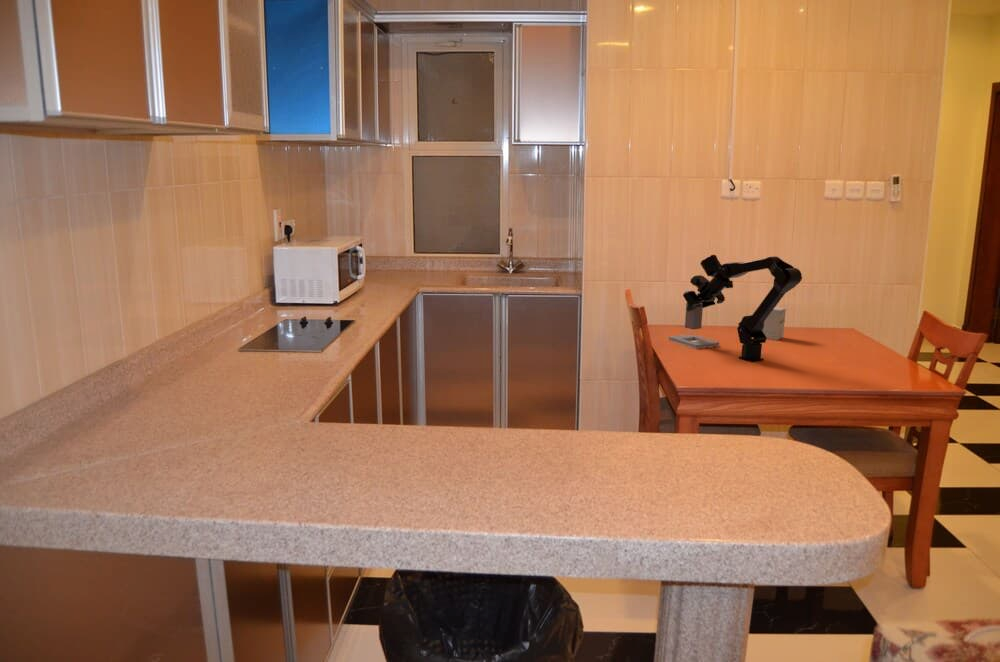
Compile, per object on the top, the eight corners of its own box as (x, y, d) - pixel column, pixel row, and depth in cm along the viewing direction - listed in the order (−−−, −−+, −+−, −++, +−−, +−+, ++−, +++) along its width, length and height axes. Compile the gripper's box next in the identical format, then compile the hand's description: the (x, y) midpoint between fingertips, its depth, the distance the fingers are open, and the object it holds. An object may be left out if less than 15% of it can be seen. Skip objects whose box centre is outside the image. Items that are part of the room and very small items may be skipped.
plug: (701, 328, 310) (703, 299, 307) (693, 329, 307) (695, 300, 305) (692, 326, 313) (694, 298, 311) (684, 327, 311) (686, 299, 308)
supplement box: (777, 340, 320) (780, 310, 318) (759, 337, 325) (762, 308, 322) (783, 337, 326) (786, 307, 323) (766, 335, 331) (768, 305, 328)
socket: (718, 346, 308) (719, 342, 308) (695, 348, 303) (695, 345, 302) (691, 337, 322) (691, 334, 322) (668, 340, 316) (668, 336, 316)
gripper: (721, 267, 307) (697, 291, 318) (688, 270, 297) (665, 295, 308) (735, 290, 302) (711, 313, 314) (703, 294, 292) (678, 318, 303)
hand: (691, 309), depth 310 cm, fingers closed on plug, 4 cm apart
